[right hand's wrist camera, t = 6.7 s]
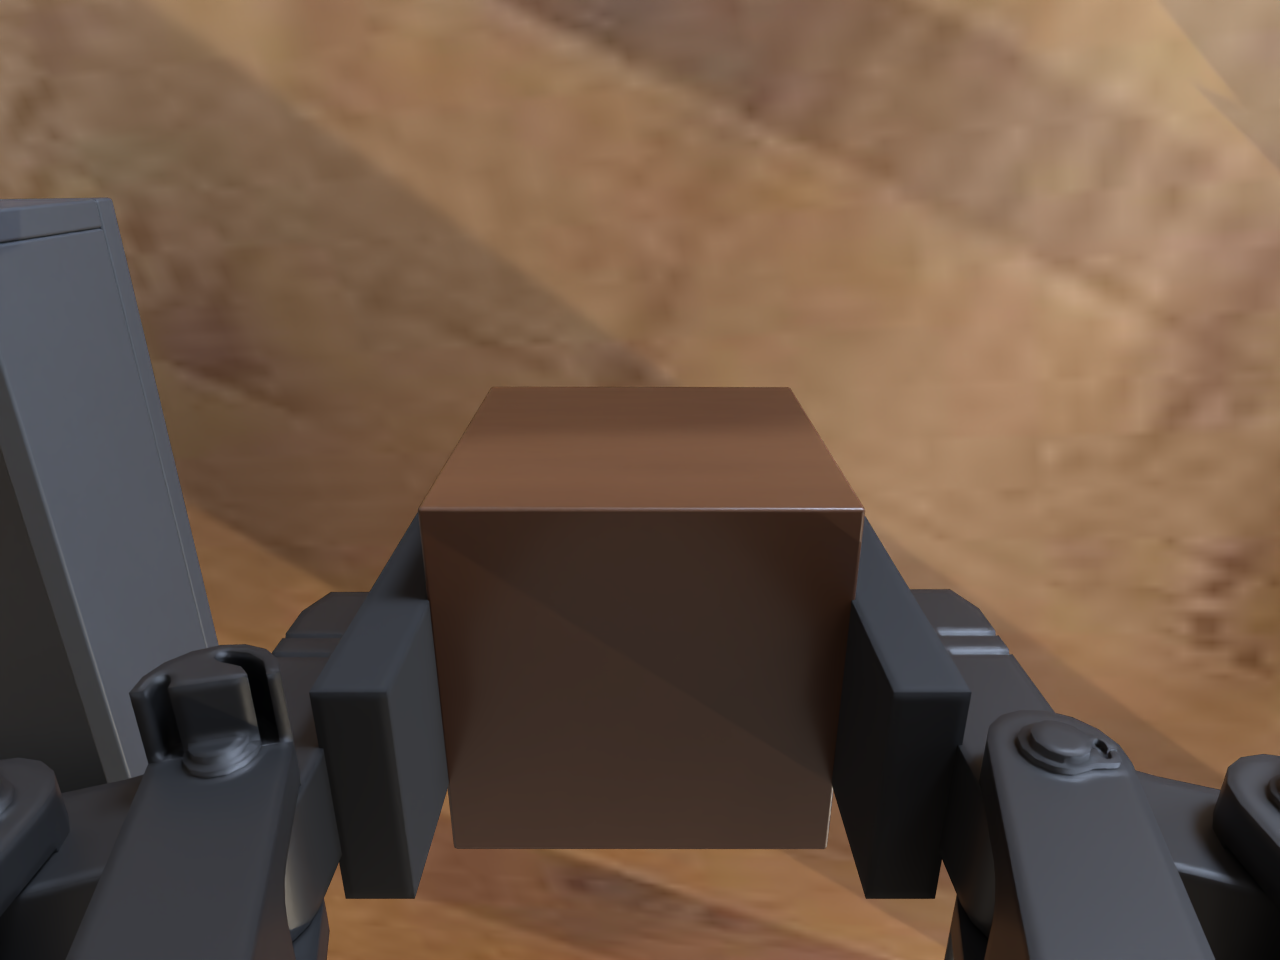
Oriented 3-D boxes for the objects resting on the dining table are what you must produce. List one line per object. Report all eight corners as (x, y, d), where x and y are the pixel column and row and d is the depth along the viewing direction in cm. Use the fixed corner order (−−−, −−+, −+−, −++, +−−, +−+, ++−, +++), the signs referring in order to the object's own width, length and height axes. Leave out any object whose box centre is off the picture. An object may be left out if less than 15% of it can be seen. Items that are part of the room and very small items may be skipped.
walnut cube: (490, 385, 14) (416, 507, 9) (790, 386, 14) (866, 508, 9) (507, 642, 16) (453, 850, 11) (772, 642, 16) (827, 850, 11)
